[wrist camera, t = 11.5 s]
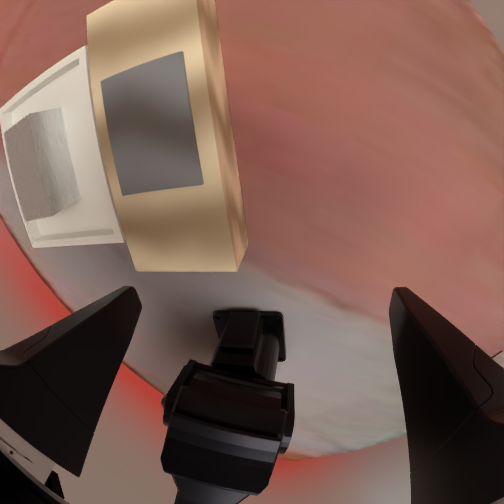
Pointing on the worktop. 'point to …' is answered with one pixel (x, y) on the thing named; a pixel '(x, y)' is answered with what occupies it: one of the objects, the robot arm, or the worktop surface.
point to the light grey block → (41, 164)
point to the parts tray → (82, 155)
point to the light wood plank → (167, 133)
